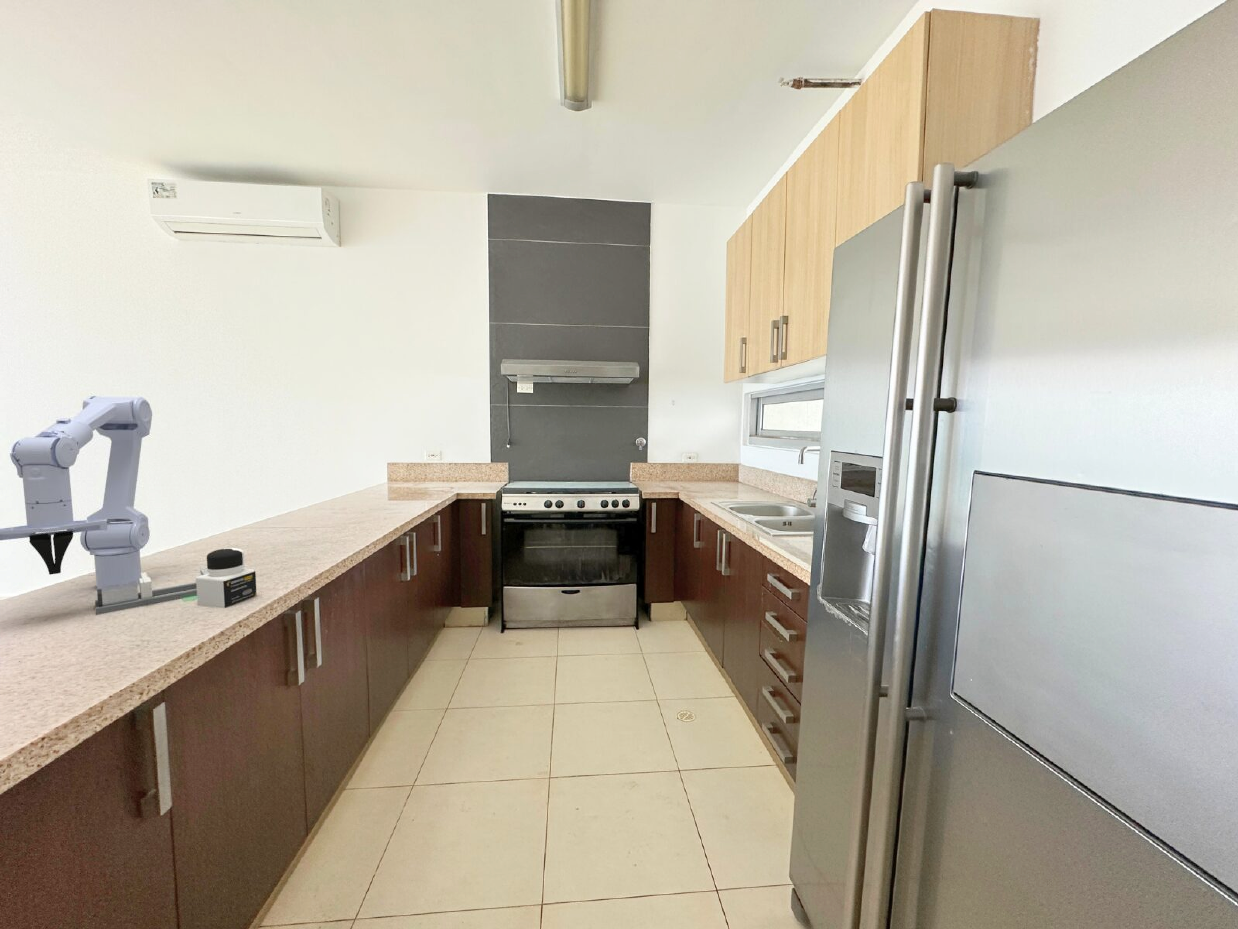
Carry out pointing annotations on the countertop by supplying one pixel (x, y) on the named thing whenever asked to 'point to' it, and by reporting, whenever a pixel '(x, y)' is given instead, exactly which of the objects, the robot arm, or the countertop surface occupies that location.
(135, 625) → the countertop surface
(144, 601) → the gauge board
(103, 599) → the grey rail carriage
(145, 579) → the off-white rectangular block
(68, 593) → the countertop surface
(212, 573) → the medicine bottle
